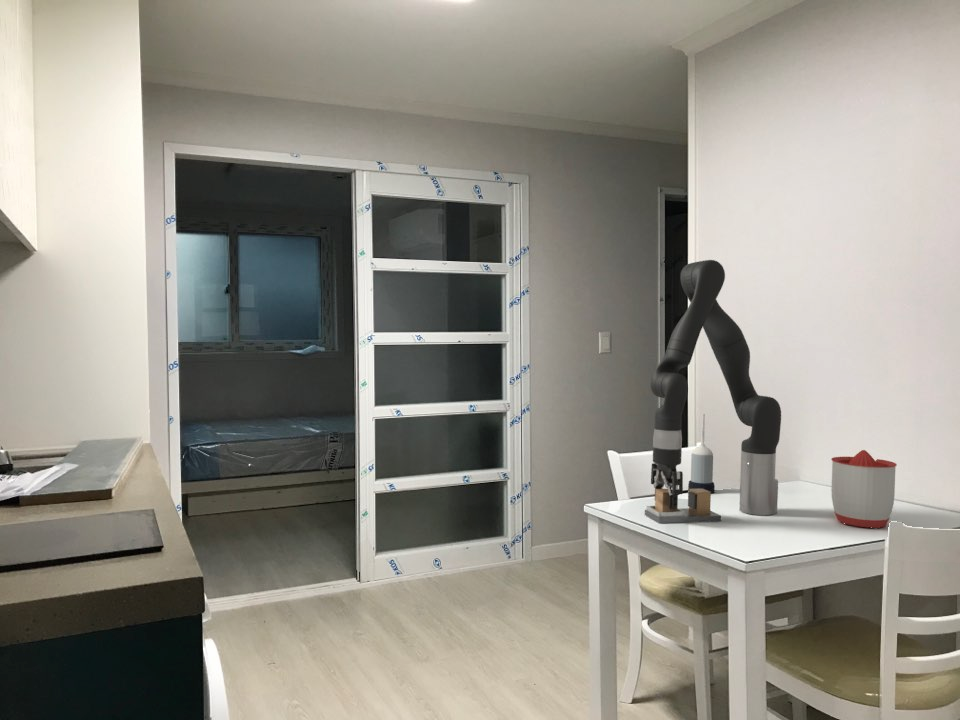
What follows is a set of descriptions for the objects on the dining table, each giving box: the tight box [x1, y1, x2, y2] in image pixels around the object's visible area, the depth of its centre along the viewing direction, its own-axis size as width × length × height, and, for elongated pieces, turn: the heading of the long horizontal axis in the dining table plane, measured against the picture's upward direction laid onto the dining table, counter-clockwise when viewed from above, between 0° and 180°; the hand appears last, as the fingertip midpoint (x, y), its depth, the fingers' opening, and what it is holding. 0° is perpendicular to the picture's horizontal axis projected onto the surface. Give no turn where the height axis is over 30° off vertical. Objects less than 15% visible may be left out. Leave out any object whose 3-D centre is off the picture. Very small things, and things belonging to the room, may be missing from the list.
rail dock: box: [644, 489, 722, 524], centre depth 197 cm, size 18×9×8 cm, turn 101°
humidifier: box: [687, 413, 715, 495], centre depth 233 cm, size 8×8×25 cm
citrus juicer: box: [831, 449, 897, 529], centre depth 196 cm, size 16×17×20 cm
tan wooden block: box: [654, 488, 676, 512], centre depth 196 cm, size 4×4×6 cm
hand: (665, 505), depth 196 cm, fingers open, 8 cm apart
